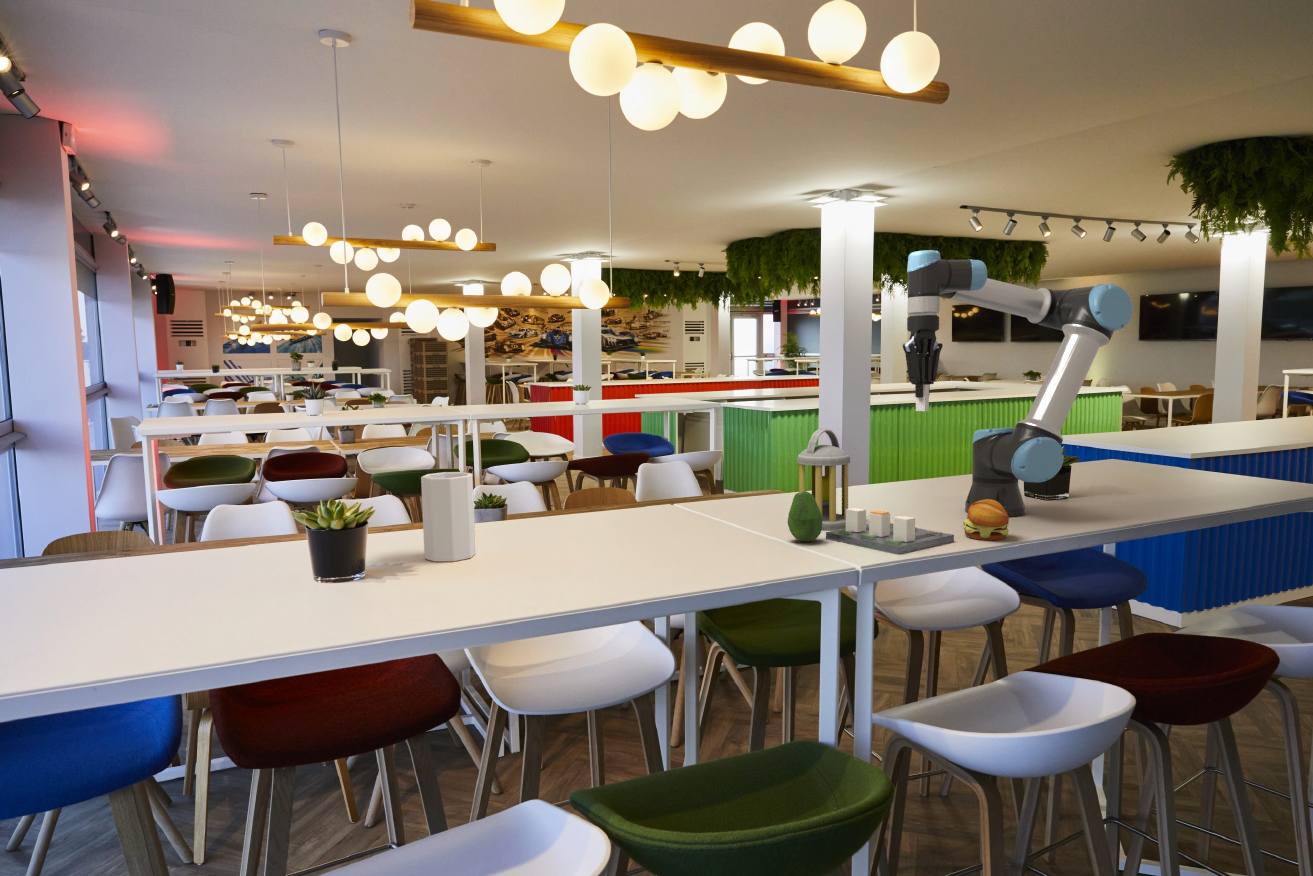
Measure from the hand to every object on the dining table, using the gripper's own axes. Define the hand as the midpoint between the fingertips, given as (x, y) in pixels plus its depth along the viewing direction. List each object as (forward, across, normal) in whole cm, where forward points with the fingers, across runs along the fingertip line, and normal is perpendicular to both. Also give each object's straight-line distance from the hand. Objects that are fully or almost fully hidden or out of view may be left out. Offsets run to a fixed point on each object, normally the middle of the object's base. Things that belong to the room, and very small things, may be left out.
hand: (922, 410), depth 205 cm
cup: (+30, +105, -47) cm, 119 cm away
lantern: (+30, +16, -18) cm, 38 cm away
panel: (+29, +18, +4) cm, 35 cm away
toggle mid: (+28, +21, +4) cm, 35 cm away
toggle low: (+28, +22, -2) cm, 35 cm away
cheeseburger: (+30, -2, +17) cm, 34 cm away
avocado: (+30, +34, -7) cm, 46 cm away
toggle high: (+28, +21, +11) cm, 37 cm away
